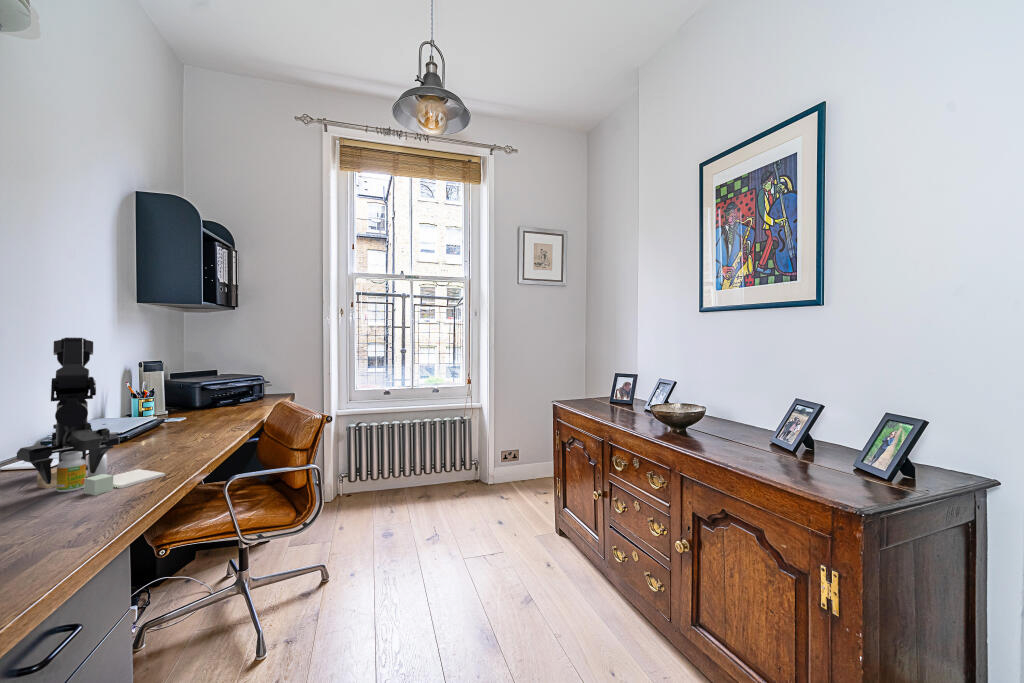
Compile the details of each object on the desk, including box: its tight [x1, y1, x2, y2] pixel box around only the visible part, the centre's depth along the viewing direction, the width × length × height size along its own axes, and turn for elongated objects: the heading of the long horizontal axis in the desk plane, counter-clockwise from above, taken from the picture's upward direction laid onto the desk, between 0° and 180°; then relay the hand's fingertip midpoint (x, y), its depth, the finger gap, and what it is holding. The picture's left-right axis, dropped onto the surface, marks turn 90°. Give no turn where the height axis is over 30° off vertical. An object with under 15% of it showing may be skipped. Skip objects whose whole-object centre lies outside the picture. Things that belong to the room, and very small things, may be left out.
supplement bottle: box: [56, 451, 87, 493], centre depth 113 cm, size 5×5×10 cm
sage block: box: [83, 473, 114, 496], centre depth 111 cm, size 4×4×4 cm
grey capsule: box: [87, 453, 108, 478], centre depth 123 cm, size 4×4×6 cm
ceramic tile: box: [113, 468, 166, 489], centre depth 121 cm, size 11×11×1 cm
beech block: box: [36, 467, 57, 490], centre depth 115 cm, size 4×4×4 cm
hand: (71, 478), depth 113 cm, fingers open, 9 cm apart
